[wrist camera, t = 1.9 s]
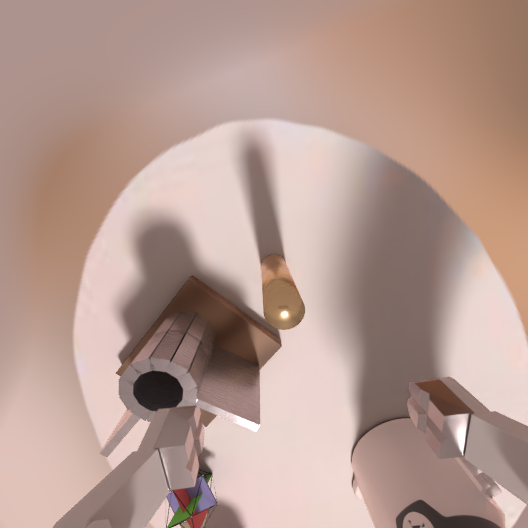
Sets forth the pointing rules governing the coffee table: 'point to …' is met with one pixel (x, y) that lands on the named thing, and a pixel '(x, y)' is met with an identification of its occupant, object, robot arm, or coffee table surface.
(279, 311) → the pin
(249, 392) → the grey socket block
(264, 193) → the coffee table surface
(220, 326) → the base board
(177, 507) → the geometric puzzle
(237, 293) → the coffee table surface
